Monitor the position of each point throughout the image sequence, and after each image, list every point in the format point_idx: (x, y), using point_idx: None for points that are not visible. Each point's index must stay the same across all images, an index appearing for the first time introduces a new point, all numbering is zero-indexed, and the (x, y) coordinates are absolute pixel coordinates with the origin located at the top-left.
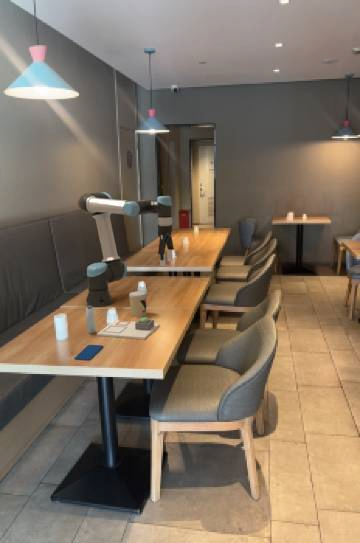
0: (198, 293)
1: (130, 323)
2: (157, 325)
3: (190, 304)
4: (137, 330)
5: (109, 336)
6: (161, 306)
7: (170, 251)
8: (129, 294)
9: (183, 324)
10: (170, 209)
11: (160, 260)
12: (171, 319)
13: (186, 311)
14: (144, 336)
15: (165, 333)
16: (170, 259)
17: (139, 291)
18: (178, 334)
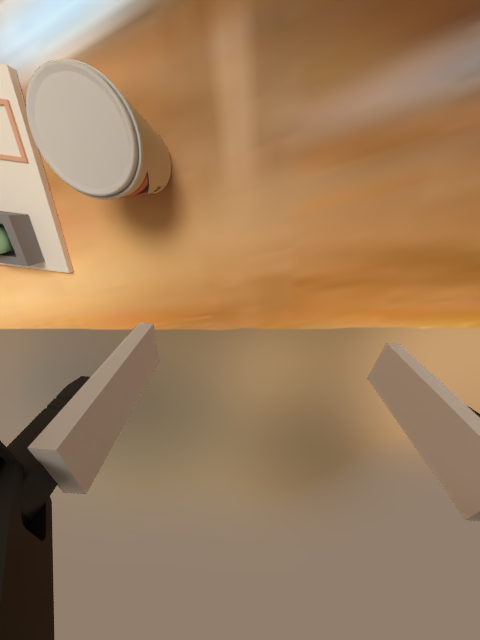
0: (411, 324)
1: (15, 166)
2: (51, 270)
3: (285, 318)
4: None
5: None
6: (261, 229)
7: (455, 478)
8: (61, 60)
9: (110, 327)
10: None
11: (106, 366)
12: (135, 292)
13: (215, 318)
14: None
15: (29, 298)
16: (384, 379)
17: (128, 131)
18: (41, 327)
